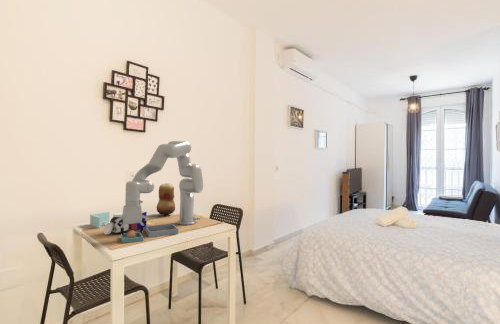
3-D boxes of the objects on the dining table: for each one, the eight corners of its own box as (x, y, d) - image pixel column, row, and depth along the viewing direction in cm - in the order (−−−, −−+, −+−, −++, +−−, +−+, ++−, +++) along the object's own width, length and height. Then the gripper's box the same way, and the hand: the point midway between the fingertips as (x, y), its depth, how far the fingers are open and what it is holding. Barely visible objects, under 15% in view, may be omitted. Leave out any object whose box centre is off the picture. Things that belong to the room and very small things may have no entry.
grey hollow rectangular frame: (172, 228, 181) (172, 223, 181) (178, 233, 170) (178, 228, 170) (145, 231, 172) (145, 226, 172) (149, 237, 161) (149, 231, 161)
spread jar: (130, 231, 170) (130, 212, 170) (117, 236, 159) (118, 216, 159) (113, 229, 173) (114, 211, 173) (100, 234, 162) (100, 215, 162)
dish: (140, 235, 163) (140, 232, 163) (143, 240, 154) (143, 237, 154) (120, 237, 158) (120, 234, 158) (122, 243, 149) (122, 239, 149)
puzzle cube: (137, 230, 173) (137, 214, 173) (123, 229, 175) (123, 213, 175) (146, 226, 183) (146, 211, 183) (133, 225, 185) (133, 210, 185)
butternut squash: (156, 217, 208) (157, 184, 207) (156, 213, 221) (157, 182, 220) (175, 216, 212) (176, 184, 212) (174, 213, 225) (175, 182, 224)
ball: (135, 236, 159) (135, 228, 159) (136, 238, 155) (136, 230, 155) (126, 237, 157) (127, 229, 157) (127, 240, 153) (128, 231, 153)
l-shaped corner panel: (98, 229, 175) (98, 217, 175) (90, 225, 182) (90, 214, 182) (117, 225, 184) (117, 214, 184) (108, 222, 192) (108, 211, 191)
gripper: (147, 201, 163) (146, 229, 164) (115, 203, 154) (114, 233, 155) (149, 203, 156) (149, 233, 157) (116, 205, 148) (115, 237, 148)
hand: (132, 233), depth 156 cm, fingers open, 9 cm apart
